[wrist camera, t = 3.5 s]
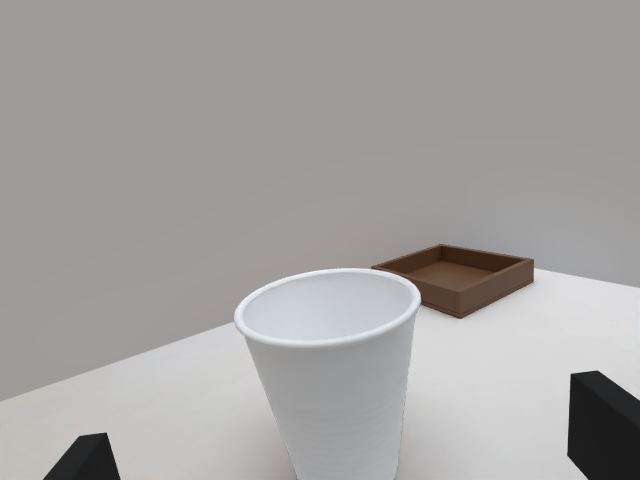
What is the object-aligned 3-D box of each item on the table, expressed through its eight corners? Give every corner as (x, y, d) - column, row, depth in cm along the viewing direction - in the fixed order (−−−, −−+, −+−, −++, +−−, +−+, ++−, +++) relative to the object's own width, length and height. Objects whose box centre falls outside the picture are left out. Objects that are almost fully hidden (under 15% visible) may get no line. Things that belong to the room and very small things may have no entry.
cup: (428, 580, 15) (412, 352, 13) (232, 525, 19) (191, 336, 16) (434, 418, 24) (425, 266, 22) (302, 400, 28) (282, 268, 25)
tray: (533, 281, 45) (533, 259, 44) (460, 318, 38) (459, 292, 37) (441, 261, 57) (440, 243, 56) (372, 286, 50) (371, 266, 49)
